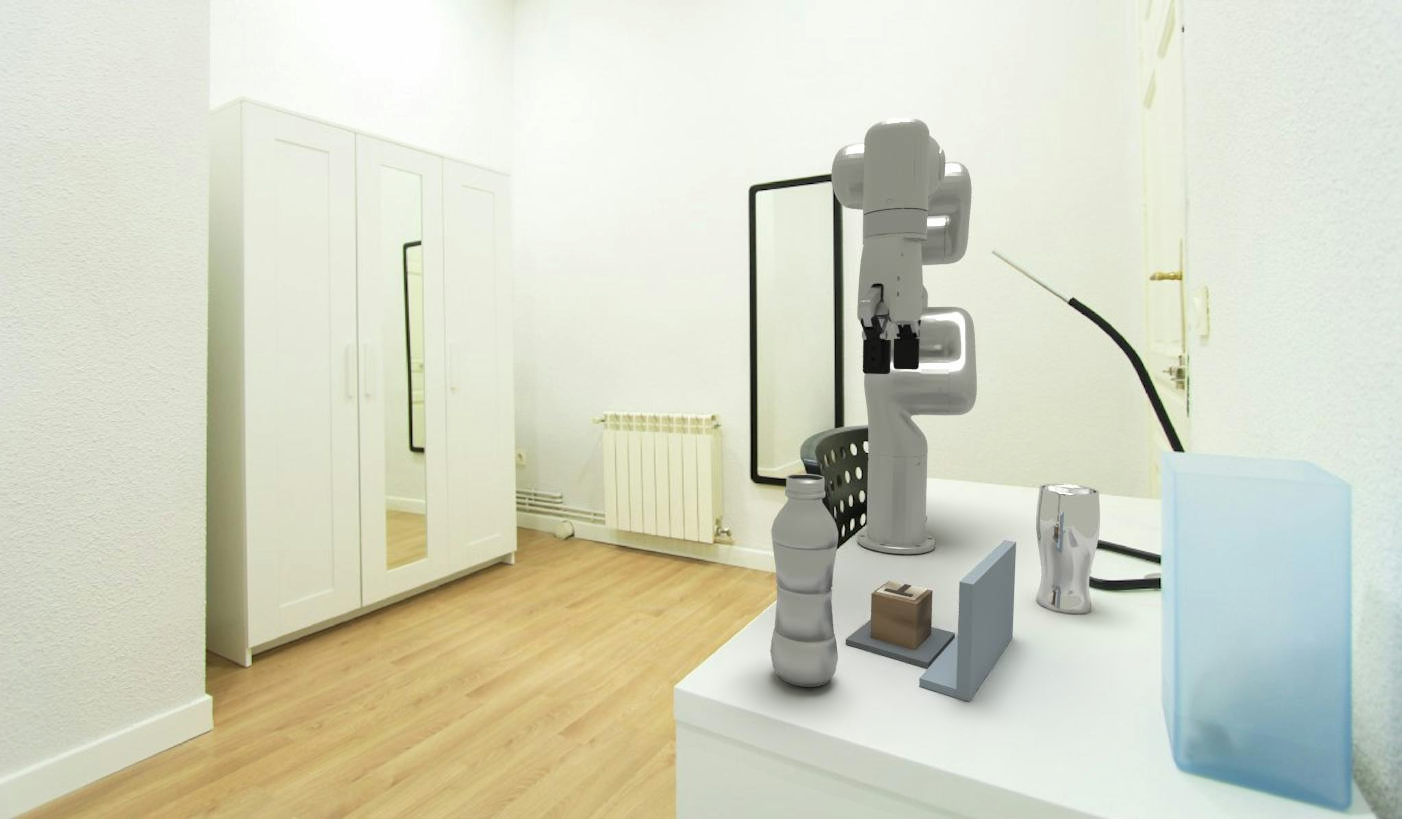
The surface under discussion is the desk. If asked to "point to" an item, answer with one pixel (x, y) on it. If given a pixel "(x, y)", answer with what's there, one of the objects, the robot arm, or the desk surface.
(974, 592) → the screen
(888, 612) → the letter cube
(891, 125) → the robot arm
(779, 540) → the plastic bottle
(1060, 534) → the beer glass
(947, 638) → the mat
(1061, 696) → the desk surface
